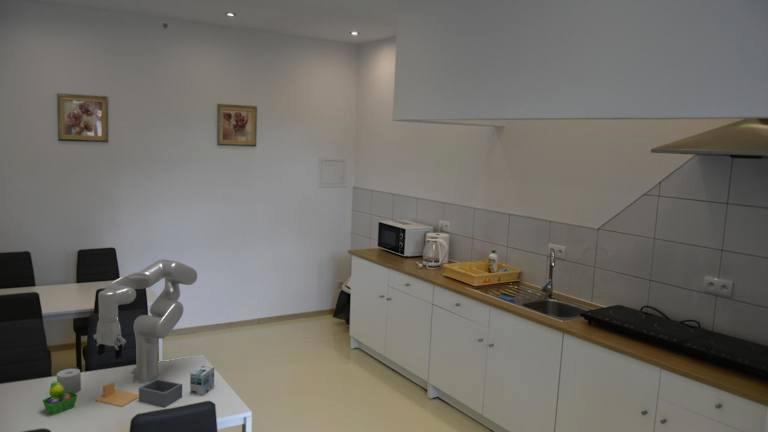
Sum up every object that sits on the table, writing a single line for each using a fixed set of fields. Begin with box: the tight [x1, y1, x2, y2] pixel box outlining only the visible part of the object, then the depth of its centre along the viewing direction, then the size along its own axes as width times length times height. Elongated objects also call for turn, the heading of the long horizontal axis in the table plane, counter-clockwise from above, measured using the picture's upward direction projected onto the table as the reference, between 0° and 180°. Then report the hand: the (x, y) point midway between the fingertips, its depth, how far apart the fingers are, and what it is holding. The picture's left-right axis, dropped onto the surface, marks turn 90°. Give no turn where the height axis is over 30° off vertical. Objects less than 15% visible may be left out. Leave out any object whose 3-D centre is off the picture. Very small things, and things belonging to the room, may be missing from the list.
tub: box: [138, 378, 183, 408], centre depth 254 cm, size 14×11×7 cm
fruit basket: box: [42, 381, 78, 415], centre depth 243 cm, size 11×9×11 cm
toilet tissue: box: [56, 368, 82, 394], centre depth 262 cm, size 9×13×9 cm
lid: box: [94, 381, 139, 408], centre depth 253 cm, size 15×12×7 cm
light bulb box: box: [189, 364, 215, 397], centre depth 264 cm, size 11×7×11 cm, turn 168°
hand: (110, 355), depth 253 cm, fingers open, 9 cm apart
